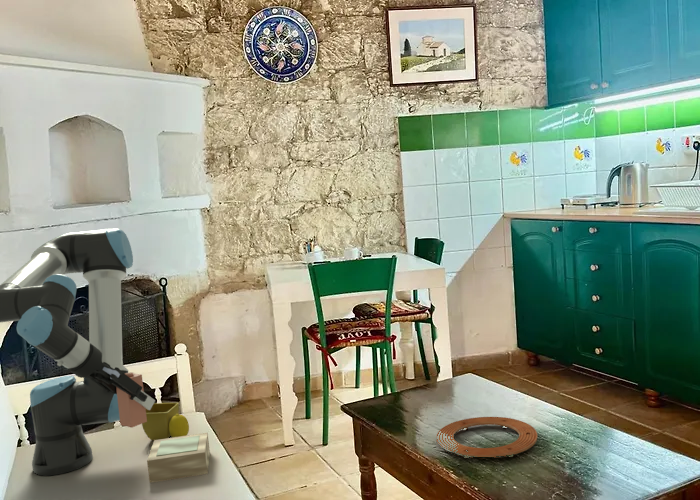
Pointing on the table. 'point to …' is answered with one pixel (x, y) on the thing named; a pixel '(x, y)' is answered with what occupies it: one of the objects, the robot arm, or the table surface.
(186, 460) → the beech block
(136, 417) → the pink knobbed block
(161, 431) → the flower pot
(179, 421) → the lemon
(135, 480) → the table surface
